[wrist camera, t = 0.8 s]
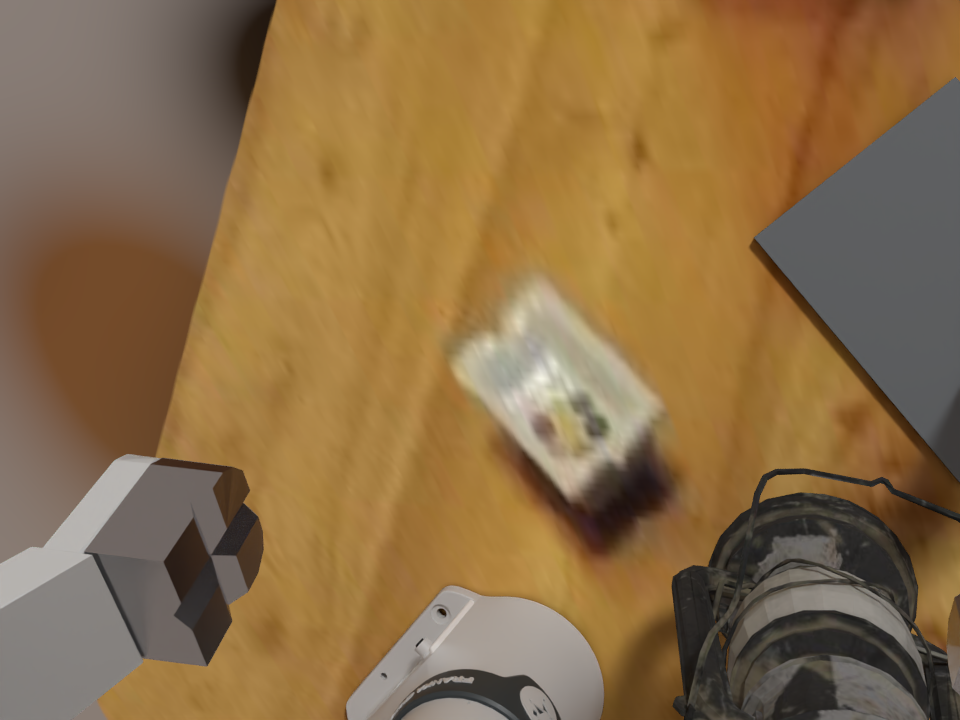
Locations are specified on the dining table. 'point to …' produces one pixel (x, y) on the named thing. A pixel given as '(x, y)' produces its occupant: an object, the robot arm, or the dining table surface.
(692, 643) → the lantern
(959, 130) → the mat
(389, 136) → the dining table surface
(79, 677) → the robot arm
